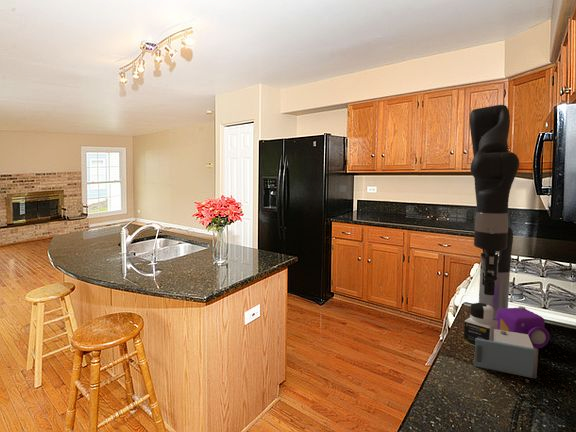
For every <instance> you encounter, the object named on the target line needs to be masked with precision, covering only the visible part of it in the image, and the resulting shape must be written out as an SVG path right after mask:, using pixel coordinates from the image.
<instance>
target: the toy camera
mask: <svg viewBox="0 0 576 432" xmlns="http://www.w3.org/2000/svg"><path fill="white" fill-rule="evenodd" d="M496 321H498V330H503V331H510V332H516V333H522V334H528V336H529V338H530V341H531V343H532V345H533V348H536V349H538V350H539V349H542V348H544V347H545V346H546V345H548V343H549V340H550V332H549V331H548V329H547V328H545V324H546V322H545V319H544V317H542V316H541V315H539V314H537V313H534V311H533V312H532V311H531V310H529V309H526V307H524V306H523V305H522V306H521V305H519V306H518V307H508V308H502V309H498V311H497V320H496Z"/></svg>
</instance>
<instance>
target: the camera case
mask: <svg viewBox="0 0 576 432" xmlns="http://www.w3.org/2000/svg"><path fill="white" fill-rule="evenodd" d="M493 341H496V342H501V343H507V344H513V345H518V346H524V347H530V348H534V347H533V345H532V343H531V341H530V338H529V336H528V334H522V333H516V332H510V331H503V330H497V329H494V340H493Z"/></svg>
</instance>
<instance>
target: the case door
mask: <svg viewBox="0 0 576 432" xmlns="http://www.w3.org/2000/svg"><path fill="white" fill-rule="evenodd" d="M538 356H539V349H537V348H534V347H533V348H530V347H524V346H518V345H513V344H507V343H501V342H496V341H490V340H484V339H478V338H475V346H474V360H473V361H474V362H473V366H474V367H478V368H482V369H487V370H492V371H497V372H502V373H507V374H512V375H517V376H520V377H521V376H522V377H525V378H531V379H537V378H538V377H537V375H538V374H537V373H538V372H537V371H538V361H539V359H538V358H539V357H538Z"/></svg>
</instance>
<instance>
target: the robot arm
mask: <svg viewBox="0 0 576 432" xmlns="http://www.w3.org/2000/svg"><path fill="white" fill-rule="evenodd" d="M510 119H511V115H510V111H509V108H508V106H507V105H504V104H496V105H491V106H484V107H479V108H475V109H473V110H471V112H470V113H469V129H470V136H471V145H472V153H473V159H472V160H471V164H470V173H471V175H472V177H473V178H474V189H475V191H474V192H475V201H476V215H475V218H474V219H475V220H474V236H473V237H474V238H473V246H474V247H475V248H478V249H480V250H482V253H481V252H480V269H479V288H478V289H479V290H478V291H479V293H478V303H484V304H487V305H489V306H491V307H492V308H493V309H494V310H493V320H496V321H497V311H498V309H502V308H509V293H510V277H511V276H510V274H511V273H510V272H511V260H512V250H513V242H514V232H513V228H512V227H510V226H509V215H508V214H509V198H510V193H511V189H512V186H513V183H514V180H515V178H516V175H517V173H518V171H519V168H520V160H519V157H518V156H517V154H515V152H511V151H509V144H508V137H509V133H510V125H511V120H510ZM497 252H499V254H497Z"/></svg>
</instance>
